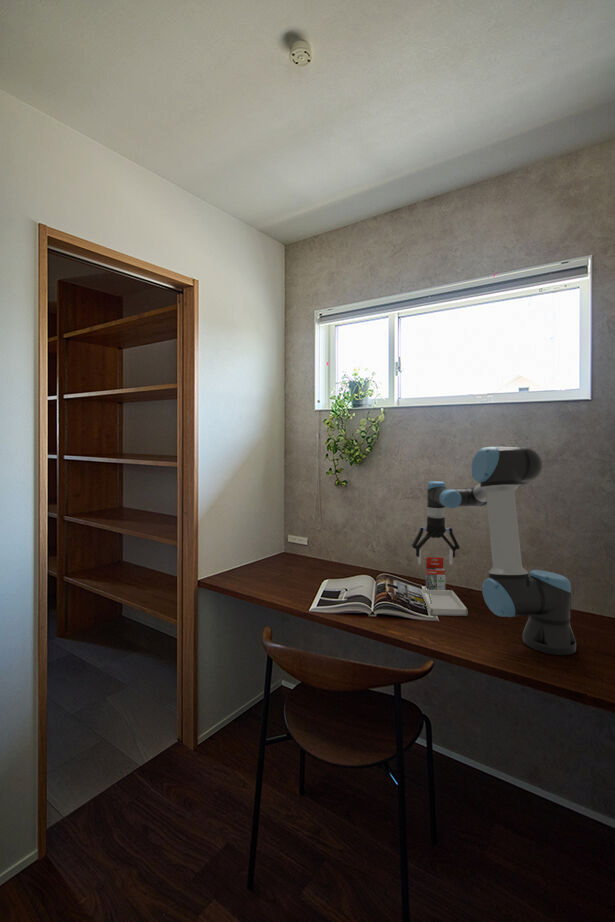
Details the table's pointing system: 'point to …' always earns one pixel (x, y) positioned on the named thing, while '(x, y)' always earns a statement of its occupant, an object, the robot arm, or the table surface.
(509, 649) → the table surface
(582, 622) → the table surface
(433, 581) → the ink box
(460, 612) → the tray
